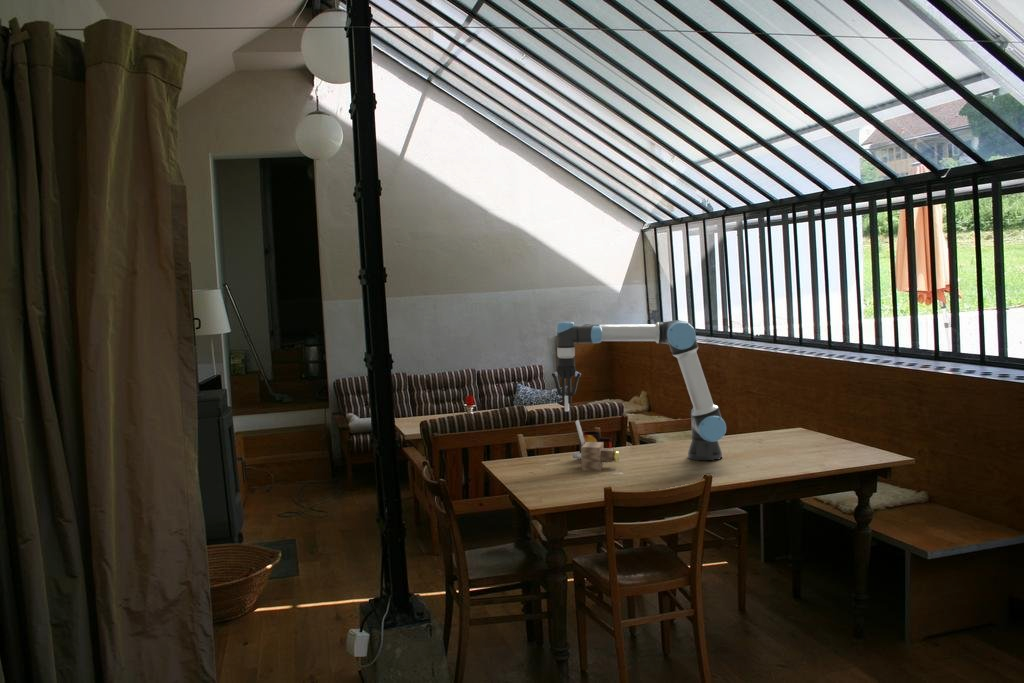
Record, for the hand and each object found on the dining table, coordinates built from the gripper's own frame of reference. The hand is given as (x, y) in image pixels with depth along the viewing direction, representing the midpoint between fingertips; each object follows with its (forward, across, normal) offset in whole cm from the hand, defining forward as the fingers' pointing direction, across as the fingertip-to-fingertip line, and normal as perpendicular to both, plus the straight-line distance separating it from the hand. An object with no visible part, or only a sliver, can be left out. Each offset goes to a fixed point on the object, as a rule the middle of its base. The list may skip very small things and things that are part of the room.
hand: (567, 410), depth 367 cm
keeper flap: (+9, -6, 0) cm, 11 cm away
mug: (+25, -9, -18) cm, 32 cm away
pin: (+22, -12, 0) cm, 25 cm away
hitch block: (+25, -13, 0) cm, 28 cm away
